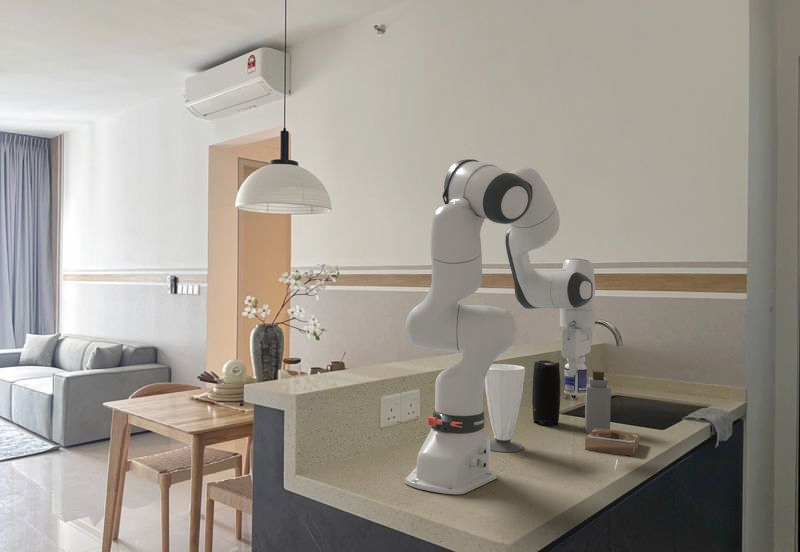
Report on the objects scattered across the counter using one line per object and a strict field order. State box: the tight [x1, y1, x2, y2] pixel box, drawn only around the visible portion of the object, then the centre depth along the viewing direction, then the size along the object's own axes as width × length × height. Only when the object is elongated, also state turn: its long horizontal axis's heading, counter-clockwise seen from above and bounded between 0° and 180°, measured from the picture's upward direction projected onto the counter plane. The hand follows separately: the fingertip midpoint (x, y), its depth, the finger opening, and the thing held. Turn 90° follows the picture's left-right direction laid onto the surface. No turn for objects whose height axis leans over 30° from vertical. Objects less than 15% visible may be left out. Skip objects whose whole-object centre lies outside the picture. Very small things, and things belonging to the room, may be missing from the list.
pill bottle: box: [563, 355, 588, 396], centre depth 159 cm, size 6×6×10 cm
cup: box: [484, 363, 526, 454], centre depth 163 cm, size 12×12×22 cm
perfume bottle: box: [584, 370, 612, 434], centre depth 183 cm, size 7×7×18 cm
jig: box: [584, 428, 640, 457], centre depth 165 cm, size 14×12×3 cm
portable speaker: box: [531, 359, 561, 427], centre depth 191 cm, size 9×9×20 cm
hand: (576, 372), depth 159 cm, fingers closed on pill bottle, 6 cm apart
